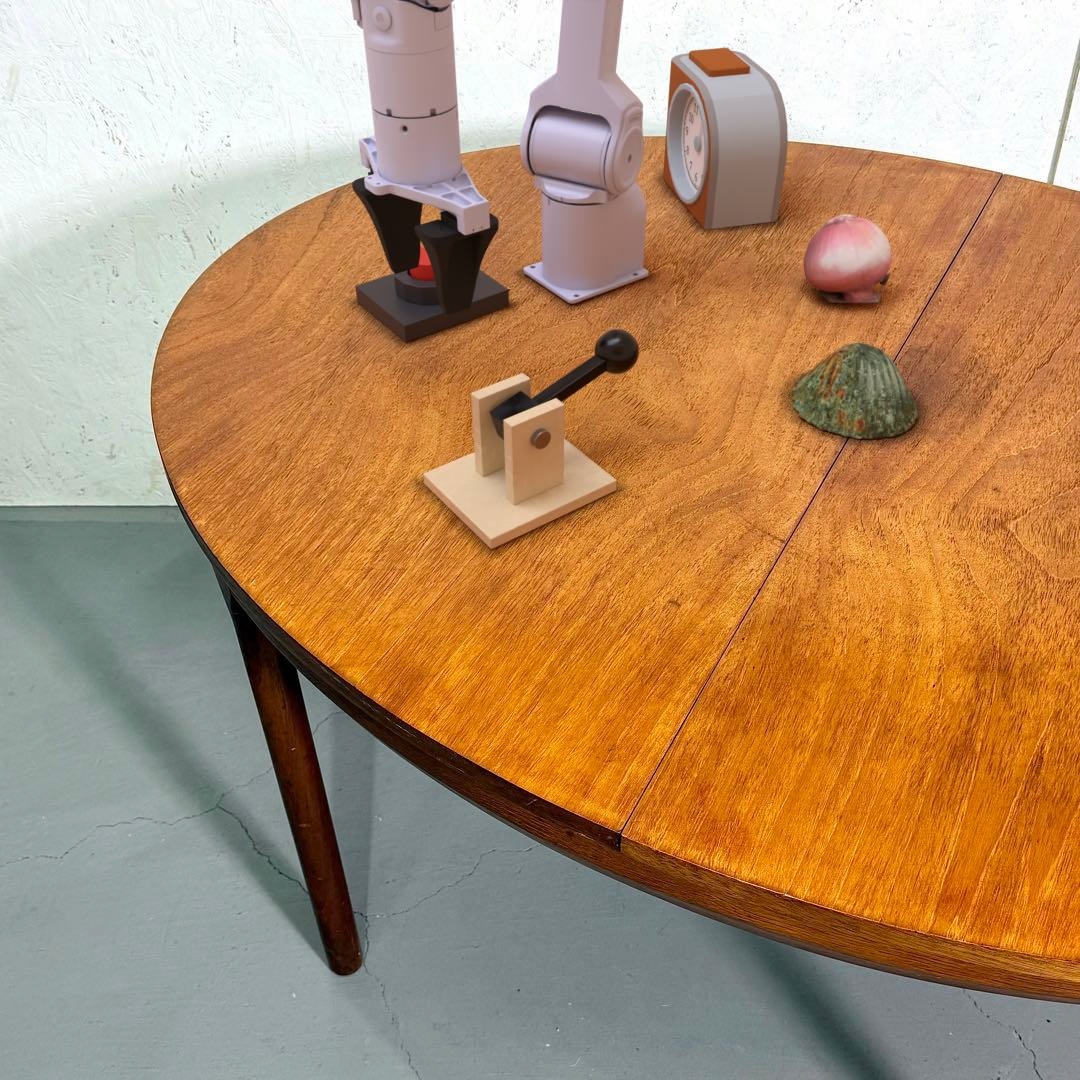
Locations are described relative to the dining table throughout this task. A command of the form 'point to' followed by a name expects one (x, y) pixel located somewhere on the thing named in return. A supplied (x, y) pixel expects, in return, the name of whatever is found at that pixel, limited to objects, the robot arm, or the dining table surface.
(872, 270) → the onion
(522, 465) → the lever base
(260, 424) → the dining table surface
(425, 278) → the button
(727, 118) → the alarm clock
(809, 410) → the seashell
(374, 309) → the control block
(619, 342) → the black lever handle
